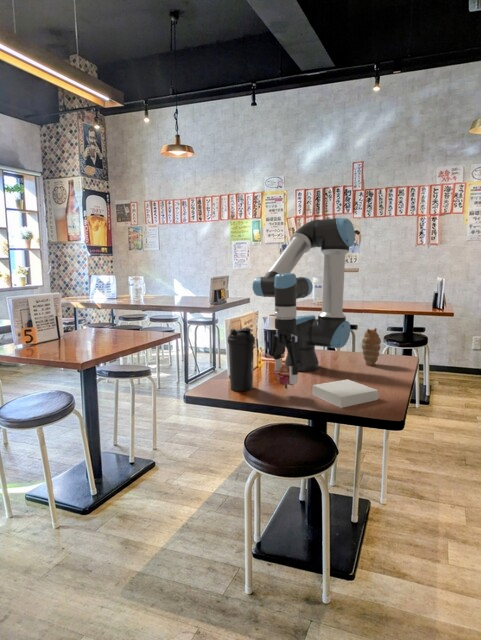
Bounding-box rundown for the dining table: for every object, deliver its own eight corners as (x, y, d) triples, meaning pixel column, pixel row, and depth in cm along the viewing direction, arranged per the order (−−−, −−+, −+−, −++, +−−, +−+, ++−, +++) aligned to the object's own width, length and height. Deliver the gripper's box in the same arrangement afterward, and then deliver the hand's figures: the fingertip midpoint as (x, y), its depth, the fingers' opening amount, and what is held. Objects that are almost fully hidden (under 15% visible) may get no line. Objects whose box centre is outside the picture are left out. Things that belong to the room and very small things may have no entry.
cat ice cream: (369, 370, 197) (370, 330, 194) (356, 367, 204) (357, 327, 201) (384, 368, 201) (385, 328, 199) (371, 364, 208) (372, 326, 206)
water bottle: (257, 391, 169) (256, 330, 166) (230, 392, 167) (229, 331, 164) (252, 383, 179) (251, 326, 176) (226, 385, 177) (225, 327, 174)
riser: (312, 395, 162) (312, 385, 162) (347, 389, 169) (347, 379, 169) (341, 408, 148) (341, 397, 148) (378, 401, 155) (378, 390, 155)
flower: (298, 391, 156) (297, 369, 155) (271, 391, 158) (270, 369, 157) (299, 384, 166) (298, 363, 165) (274, 384, 167) (273, 363, 167)
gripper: (260, 315, 166) (261, 374, 170) (293, 322, 147) (293, 389, 150) (278, 313, 169) (278, 371, 173) (312, 320, 150) (312, 386, 153)
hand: (285, 379), depth 161 cm, fingers closed on flower, 9 cm apart
